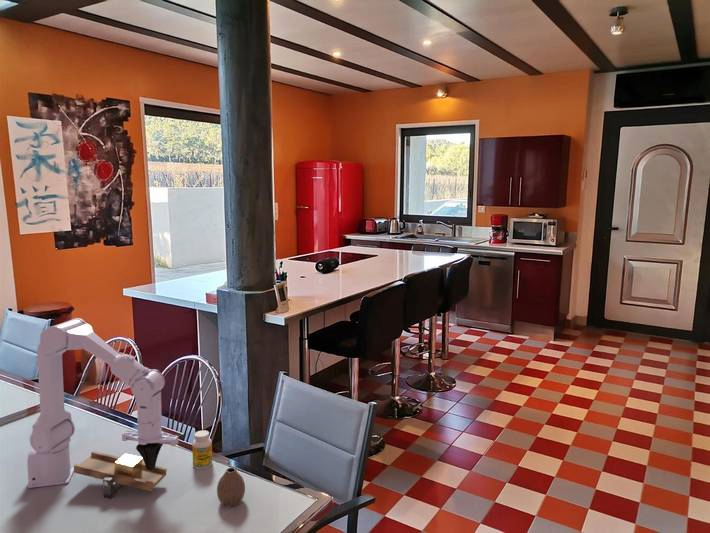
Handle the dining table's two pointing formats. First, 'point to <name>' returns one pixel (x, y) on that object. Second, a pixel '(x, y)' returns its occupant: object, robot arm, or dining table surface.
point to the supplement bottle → (202, 450)
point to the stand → (110, 487)
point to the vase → (230, 488)
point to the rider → (128, 465)
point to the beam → (104, 467)
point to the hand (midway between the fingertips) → (151, 468)
